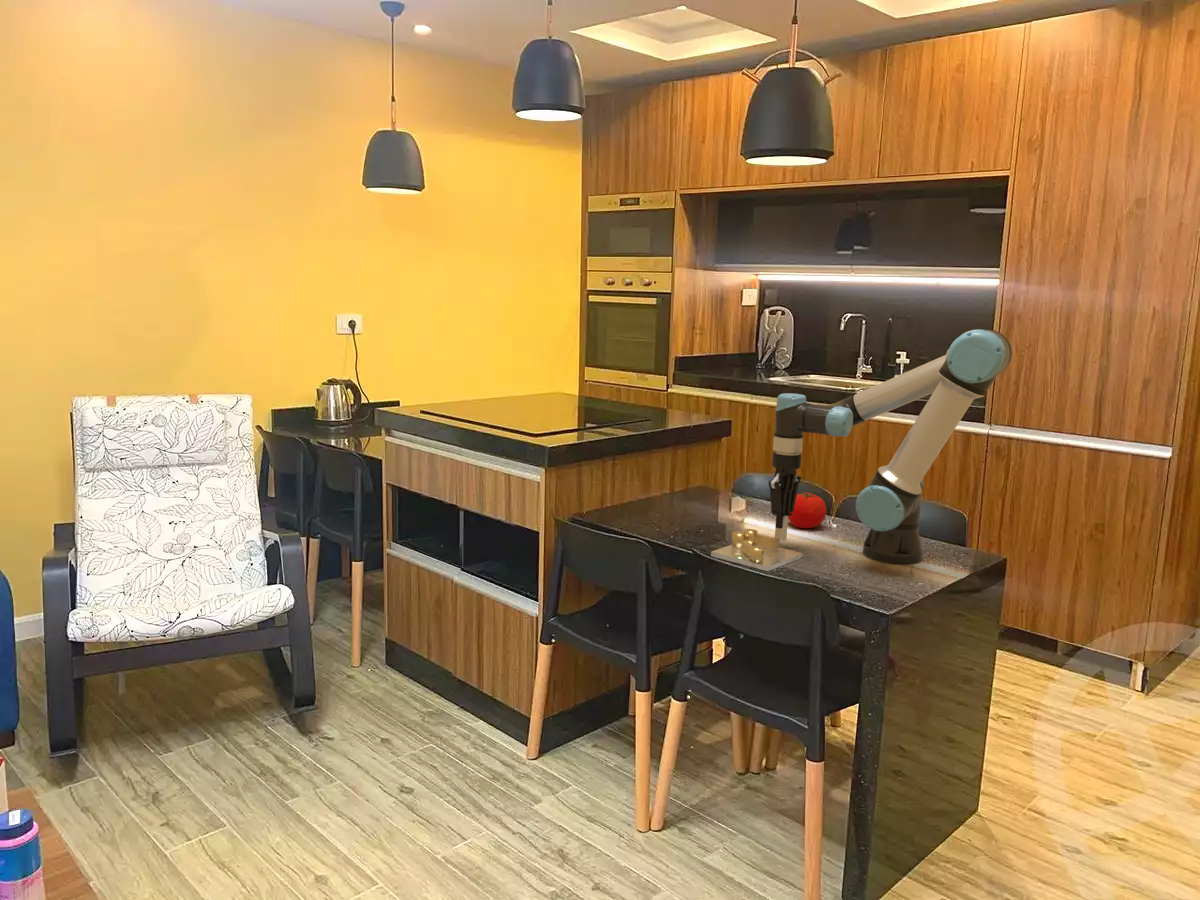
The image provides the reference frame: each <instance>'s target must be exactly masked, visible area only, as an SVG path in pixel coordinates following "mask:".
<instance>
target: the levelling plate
mask: <svg viewBox="0 0 1200 900" xmlns="http://www.w3.org/2000/svg"><path fill="white" fill-rule="evenodd" d="M742 541H746V533H745V532H744V531H737V530H736V531H732V533H731V544H730V545H726V546H724V547H720V548H718V549H714V550H712V551H710V556H711V557H713V558H717V559H721V560H724V561H728V562H730V563H731V562H732V563H736V564H740V565H742V566H746V567H747V566H748V567H750V568H754V569H758V570H762V571H765V572H770V571H773V570H775V569H778V568H780V567H783V566H785V565H787V564H790V563H792V562H795V561H797V560H801V559H803V556H804V554H803V552H798V551H794V550H791V549H786V548H783V547H779V549H773V548H769V547H765V546H761V545H756V544H751V545H753V546H761V547H763V548H764V557H763V562H761V563H755V562H751V561H749V556H748V555H746V554H745V553H744V552H742V551H741V545H742Z"/></svg>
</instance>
